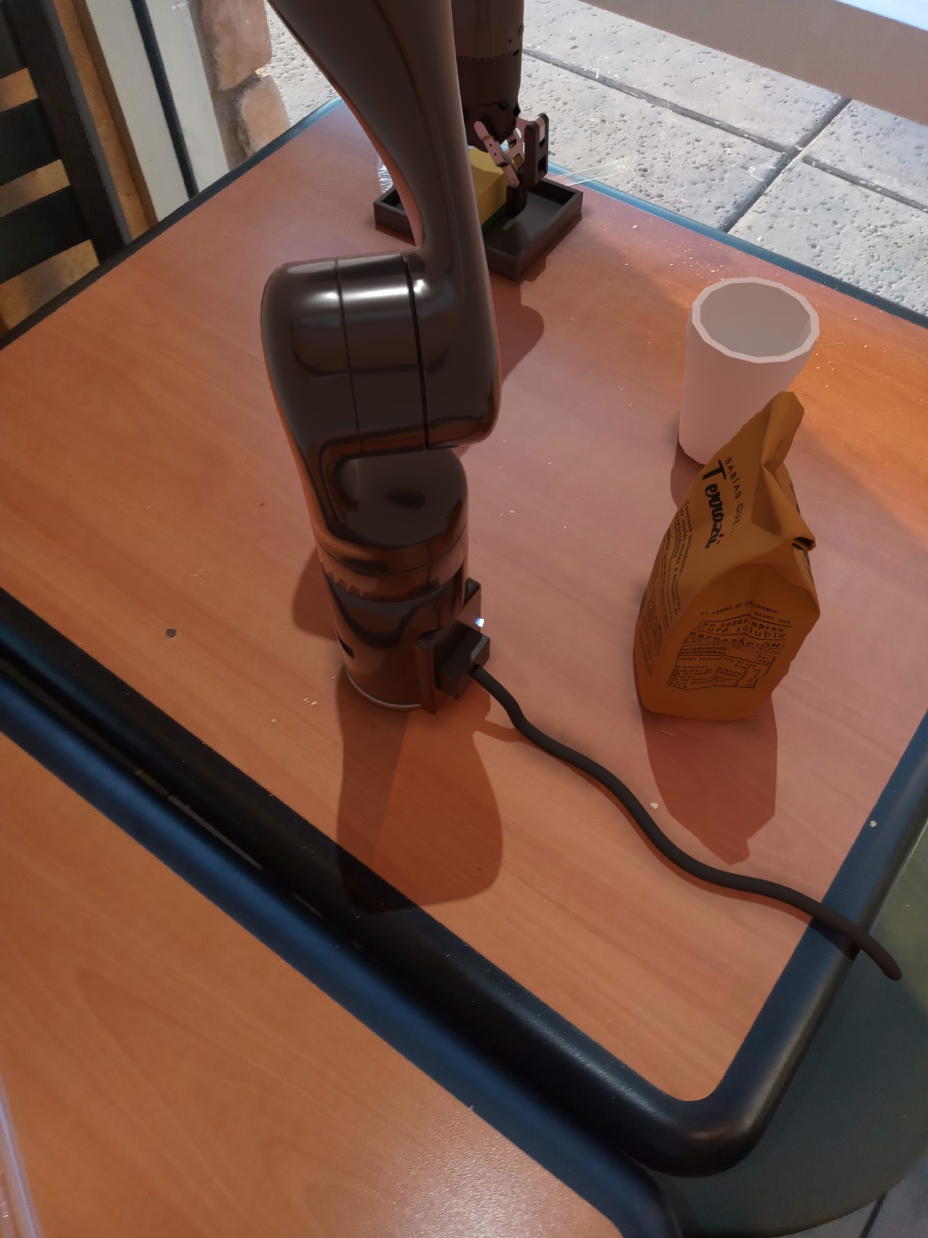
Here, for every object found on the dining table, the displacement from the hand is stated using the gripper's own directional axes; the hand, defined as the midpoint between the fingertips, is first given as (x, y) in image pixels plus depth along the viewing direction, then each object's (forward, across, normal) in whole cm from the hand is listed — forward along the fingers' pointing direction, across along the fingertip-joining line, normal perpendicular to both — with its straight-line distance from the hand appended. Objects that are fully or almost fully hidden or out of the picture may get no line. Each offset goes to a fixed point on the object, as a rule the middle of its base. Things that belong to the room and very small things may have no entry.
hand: (478, 200), depth 93 cm
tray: (+2, 0, 0) cm, 2 cm away
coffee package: (+2, +42, -35) cm, 55 cm away
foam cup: (+2, +34, -15) cm, 37 cm away
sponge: (+1, 0, 0) cm, 1 cm away
